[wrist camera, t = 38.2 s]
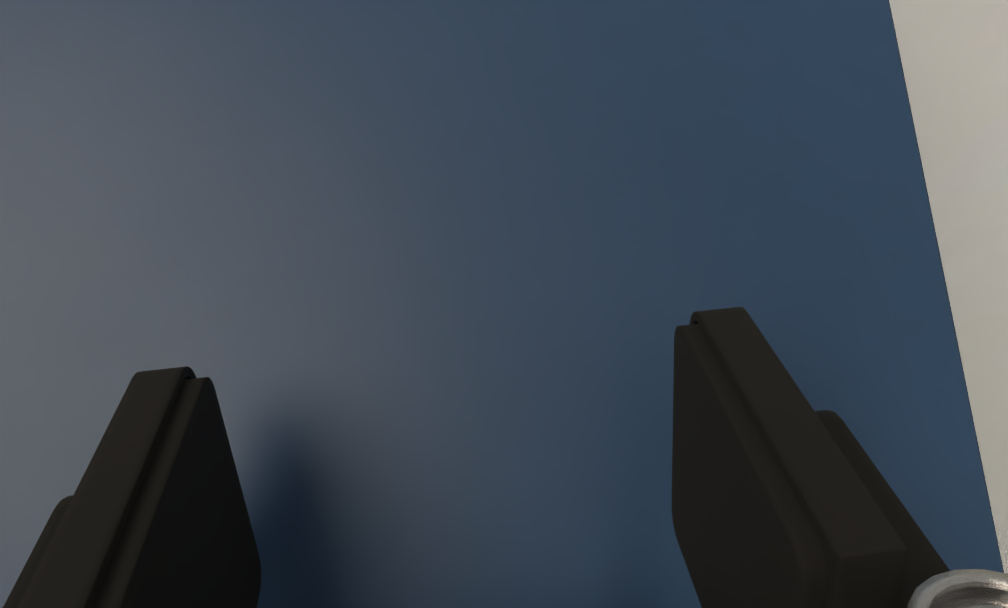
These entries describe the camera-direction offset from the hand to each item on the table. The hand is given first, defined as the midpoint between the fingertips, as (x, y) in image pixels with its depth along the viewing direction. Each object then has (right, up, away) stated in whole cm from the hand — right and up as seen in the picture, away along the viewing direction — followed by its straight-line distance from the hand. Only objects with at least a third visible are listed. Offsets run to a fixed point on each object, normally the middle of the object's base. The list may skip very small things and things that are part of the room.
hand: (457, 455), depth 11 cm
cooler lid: (0, +1, +2) cm, 3 cm away
